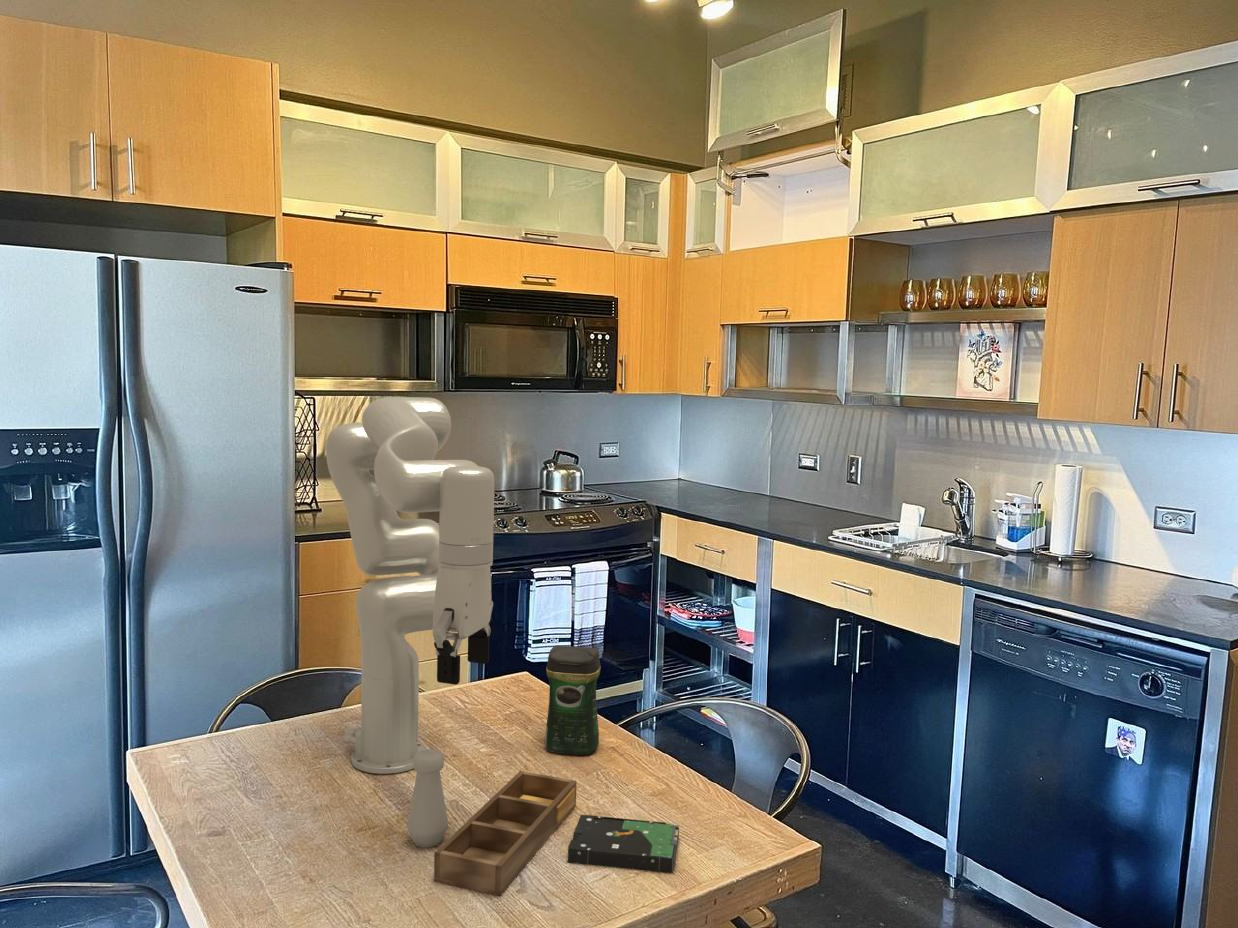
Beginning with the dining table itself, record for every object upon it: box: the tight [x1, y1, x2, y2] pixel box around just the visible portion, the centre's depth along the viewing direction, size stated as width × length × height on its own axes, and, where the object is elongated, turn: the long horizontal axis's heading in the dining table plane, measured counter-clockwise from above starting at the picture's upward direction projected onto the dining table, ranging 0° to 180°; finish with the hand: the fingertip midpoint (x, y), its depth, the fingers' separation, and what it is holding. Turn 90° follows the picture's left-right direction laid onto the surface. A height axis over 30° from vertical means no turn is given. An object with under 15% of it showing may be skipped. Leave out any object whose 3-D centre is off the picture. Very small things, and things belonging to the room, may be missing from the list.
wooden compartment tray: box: [433, 770, 578, 897], centre depth 133 cm, size 10×27×4 cm, turn 162°
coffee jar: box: [544, 644, 601, 756], centre depth 166 cm, size 10×8×19 cm
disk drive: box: [567, 814, 680, 874], centre depth 132 cm, size 10×3×15 cm
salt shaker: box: [406, 748, 449, 849], centre depth 132 cm, size 6×6×13 cm
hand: (463, 672), depth 132 cm, fingers open, 9 cm apart
